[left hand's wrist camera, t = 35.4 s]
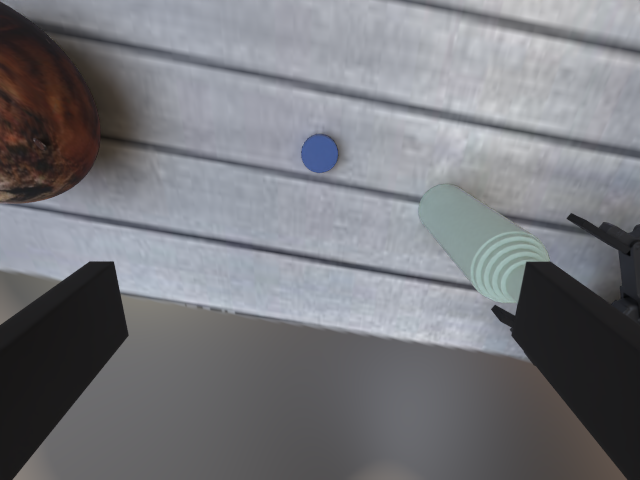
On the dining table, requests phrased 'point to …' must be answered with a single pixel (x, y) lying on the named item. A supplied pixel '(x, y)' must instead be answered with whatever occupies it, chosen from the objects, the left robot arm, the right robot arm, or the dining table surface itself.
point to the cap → (319, 153)
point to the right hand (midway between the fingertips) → (534, 268)
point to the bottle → (480, 241)
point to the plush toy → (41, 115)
